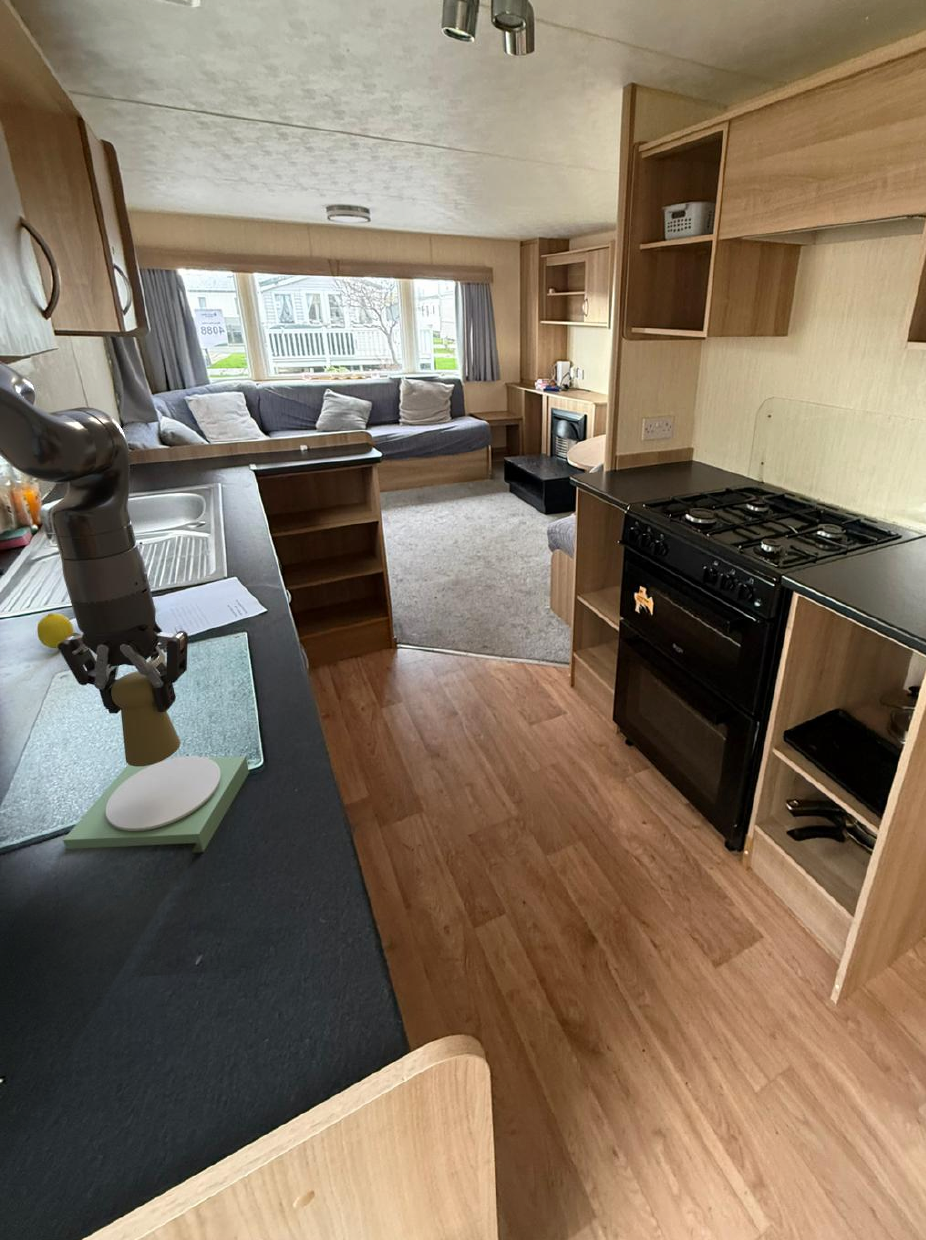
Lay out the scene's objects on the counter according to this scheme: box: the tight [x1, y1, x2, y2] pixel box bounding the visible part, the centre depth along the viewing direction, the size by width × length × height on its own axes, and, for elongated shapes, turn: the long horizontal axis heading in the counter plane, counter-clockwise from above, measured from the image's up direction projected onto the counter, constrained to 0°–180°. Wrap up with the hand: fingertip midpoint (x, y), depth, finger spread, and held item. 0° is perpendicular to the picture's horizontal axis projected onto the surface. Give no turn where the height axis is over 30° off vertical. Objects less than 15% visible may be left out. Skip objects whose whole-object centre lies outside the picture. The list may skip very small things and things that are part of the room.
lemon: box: [36, 612, 75, 649], centre depth 118 cm, size 6×6×8 cm
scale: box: [62, 755, 250, 854], centre depth 79 cm, size 16×14×4 cm
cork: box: [111, 670, 182, 767], centre depth 74 cm, size 6×6×11 cm
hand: (142, 708), depth 74 cm, fingers closed on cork, 5 cm apart
